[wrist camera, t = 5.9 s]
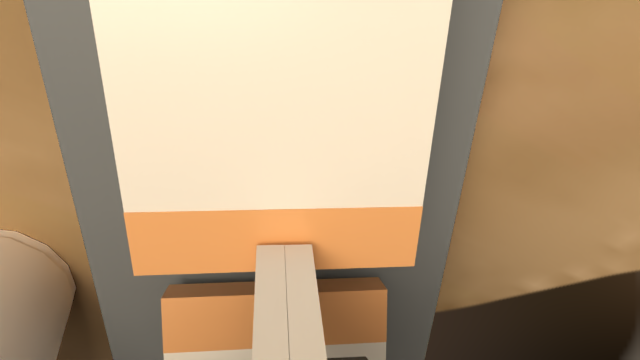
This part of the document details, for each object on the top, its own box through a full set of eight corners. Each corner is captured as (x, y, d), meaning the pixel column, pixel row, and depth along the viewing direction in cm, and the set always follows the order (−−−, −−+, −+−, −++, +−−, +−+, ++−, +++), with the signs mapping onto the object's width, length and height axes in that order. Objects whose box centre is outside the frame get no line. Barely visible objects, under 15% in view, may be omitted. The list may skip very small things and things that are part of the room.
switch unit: (147, 360, 27) (122, 461, 22) (49, -136, 15) (-51, -153, 10) (399, 347, 28) (427, 439, 23) (480, -113, 17) (568, -118, 12)
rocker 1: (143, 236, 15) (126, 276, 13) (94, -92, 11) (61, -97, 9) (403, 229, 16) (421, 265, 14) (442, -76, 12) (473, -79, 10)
